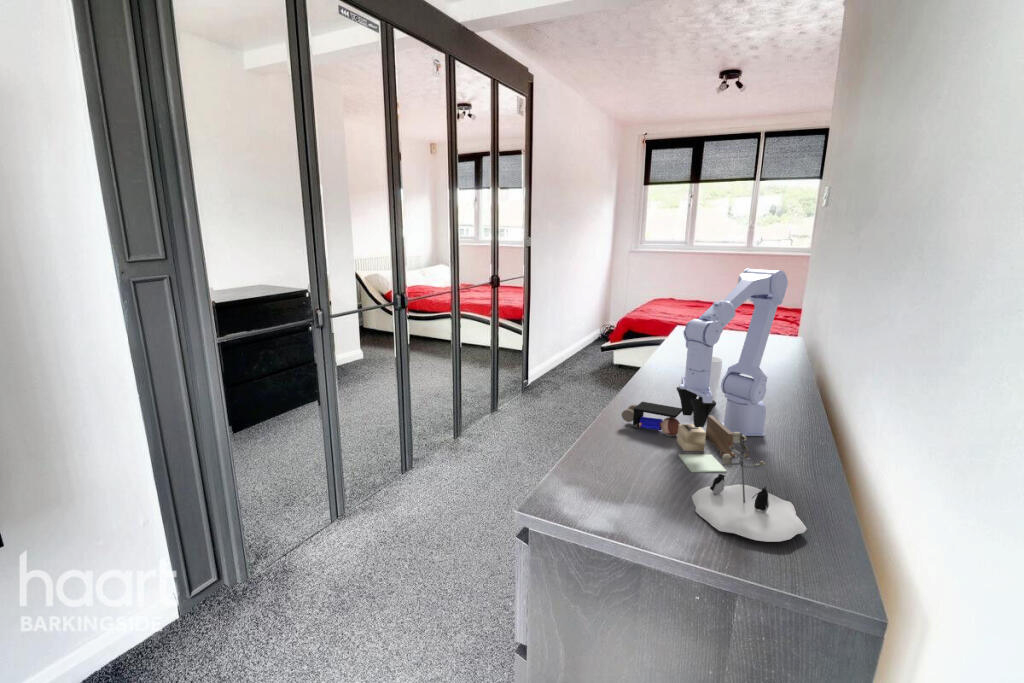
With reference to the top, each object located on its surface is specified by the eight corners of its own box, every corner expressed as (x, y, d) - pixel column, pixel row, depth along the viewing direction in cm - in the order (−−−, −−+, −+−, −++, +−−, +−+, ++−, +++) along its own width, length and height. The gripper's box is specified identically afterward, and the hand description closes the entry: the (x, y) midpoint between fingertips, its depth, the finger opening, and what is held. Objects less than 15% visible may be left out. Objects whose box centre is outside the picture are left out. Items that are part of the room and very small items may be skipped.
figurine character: (621, 433, 129) (676, 441, 120) (619, 406, 128) (675, 412, 119) (630, 425, 135) (684, 432, 126) (629, 399, 134) (683, 405, 125)
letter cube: (696, 442, 120) (698, 423, 119) (704, 451, 116) (706, 431, 114) (676, 442, 120) (678, 423, 119) (684, 450, 115) (685, 431, 114)
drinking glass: (694, 406, 147) (699, 360, 143) (694, 399, 153) (699, 355, 149) (717, 409, 144) (723, 362, 141) (717, 402, 150) (722, 357, 147)
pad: (711, 456, 113) (711, 454, 112) (726, 472, 105) (726, 470, 105) (678, 455, 112) (678, 454, 112) (691, 472, 105) (691, 470, 105)
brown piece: (713, 436, 124) (715, 415, 123) (734, 457, 112) (737, 434, 111) (702, 436, 124) (704, 415, 123) (722, 457, 112) (725, 433, 111)
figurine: (831, 534, 82) (836, 444, 80) (746, 554, 77) (749, 459, 74) (744, 487, 101) (746, 414, 99) (672, 501, 96) (673, 424, 94)
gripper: (671, 360, 120) (667, 410, 123) (693, 376, 106) (687, 432, 109) (698, 360, 121) (693, 410, 124) (724, 377, 106) (717, 432, 109)
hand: (692, 420), depth 116 cm, fingers open, 7 cm apart
